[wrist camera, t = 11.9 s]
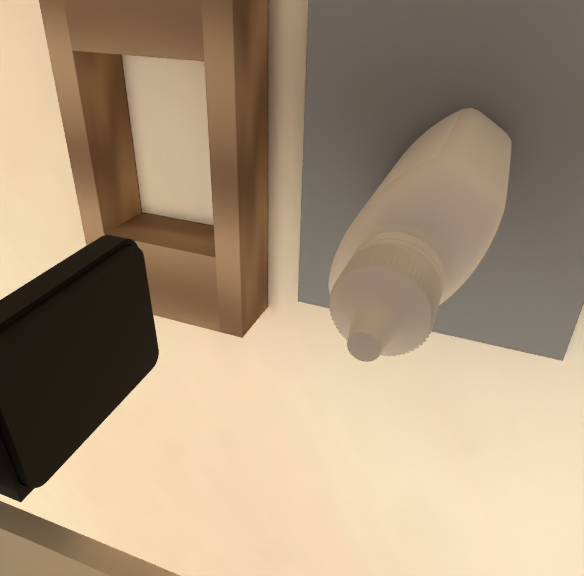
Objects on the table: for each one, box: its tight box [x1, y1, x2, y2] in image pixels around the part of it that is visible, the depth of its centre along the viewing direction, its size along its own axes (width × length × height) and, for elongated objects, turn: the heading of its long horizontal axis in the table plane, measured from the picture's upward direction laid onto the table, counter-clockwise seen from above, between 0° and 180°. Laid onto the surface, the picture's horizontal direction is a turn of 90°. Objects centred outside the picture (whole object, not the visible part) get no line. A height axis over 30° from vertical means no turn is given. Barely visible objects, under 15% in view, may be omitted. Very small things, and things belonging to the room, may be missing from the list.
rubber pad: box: [298, 0, 584, 361], centre depth 20 cm, size 14×12×1 cm
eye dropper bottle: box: [328, 108, 511, 361], centre depth 15 cm, size 4×6×12 cm
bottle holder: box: [39, 0, 268, 337], centre depth 23 cm, size 16×8×3 cm, turn 179°
